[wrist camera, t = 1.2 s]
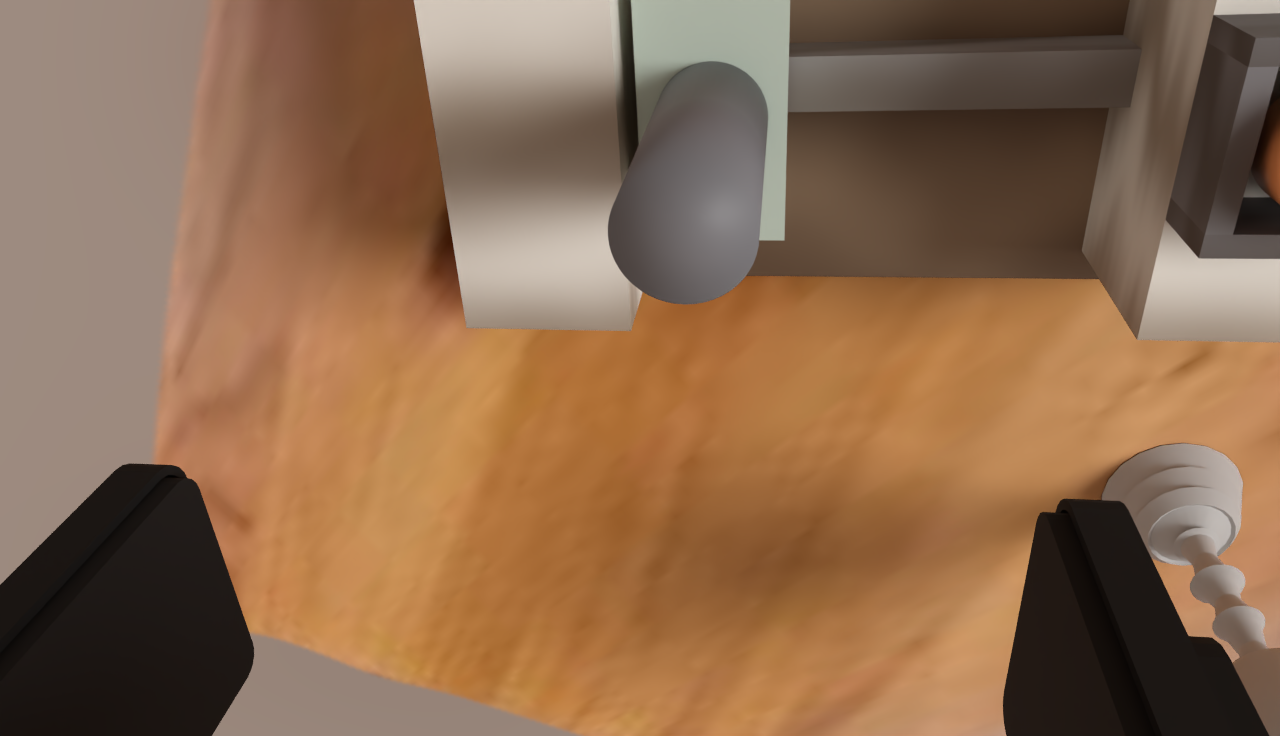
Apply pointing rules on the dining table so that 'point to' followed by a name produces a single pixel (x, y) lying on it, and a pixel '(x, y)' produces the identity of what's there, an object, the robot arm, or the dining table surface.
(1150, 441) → the dining table surface
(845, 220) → the rail bed
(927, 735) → the dining table surface
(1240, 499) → the chalice
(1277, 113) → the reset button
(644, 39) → the carriage
